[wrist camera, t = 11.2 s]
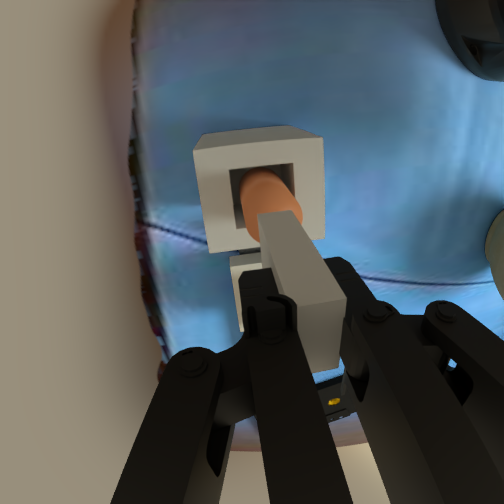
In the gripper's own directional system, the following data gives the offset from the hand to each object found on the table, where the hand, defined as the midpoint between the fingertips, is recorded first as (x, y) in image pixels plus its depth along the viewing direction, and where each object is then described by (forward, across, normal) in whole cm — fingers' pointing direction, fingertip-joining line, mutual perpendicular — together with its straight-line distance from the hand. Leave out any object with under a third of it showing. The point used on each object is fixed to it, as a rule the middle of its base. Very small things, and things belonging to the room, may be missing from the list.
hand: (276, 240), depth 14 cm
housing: (+16, 0, 0) cm, 16 cm away
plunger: (+8, 0, 0) cm, 8 cm away
